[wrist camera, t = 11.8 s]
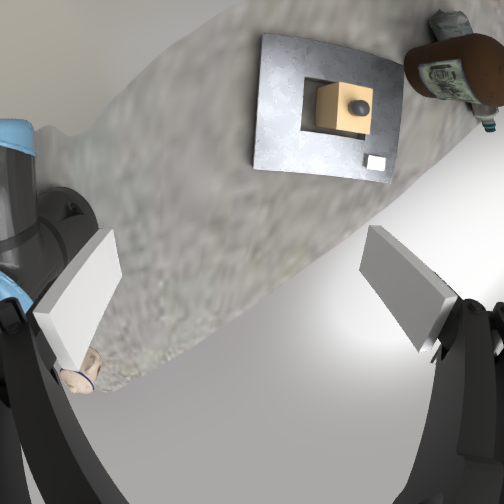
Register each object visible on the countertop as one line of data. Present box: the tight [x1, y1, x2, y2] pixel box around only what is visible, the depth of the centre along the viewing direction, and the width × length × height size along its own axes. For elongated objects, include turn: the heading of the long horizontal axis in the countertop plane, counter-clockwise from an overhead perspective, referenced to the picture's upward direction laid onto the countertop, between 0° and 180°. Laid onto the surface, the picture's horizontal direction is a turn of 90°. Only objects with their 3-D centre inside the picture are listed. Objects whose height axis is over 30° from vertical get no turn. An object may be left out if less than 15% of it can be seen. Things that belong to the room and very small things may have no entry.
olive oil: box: [404, 33, 504, 107], centre depth 21 cm, size 11×11×25 cm
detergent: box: [429, 10, 499, 132], centre depth 28 cm, size 13×7×25 cm
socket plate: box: [252, 33, 404, 184], centre depth 34 cm, size 22×20×4 cm
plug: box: [315, 82, 373, 135], centre depth 31 cm, size 4×6×11 cm
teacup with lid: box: [60, 347, 102, 394], centre depth 51 cm, size 12×9×12 cm
